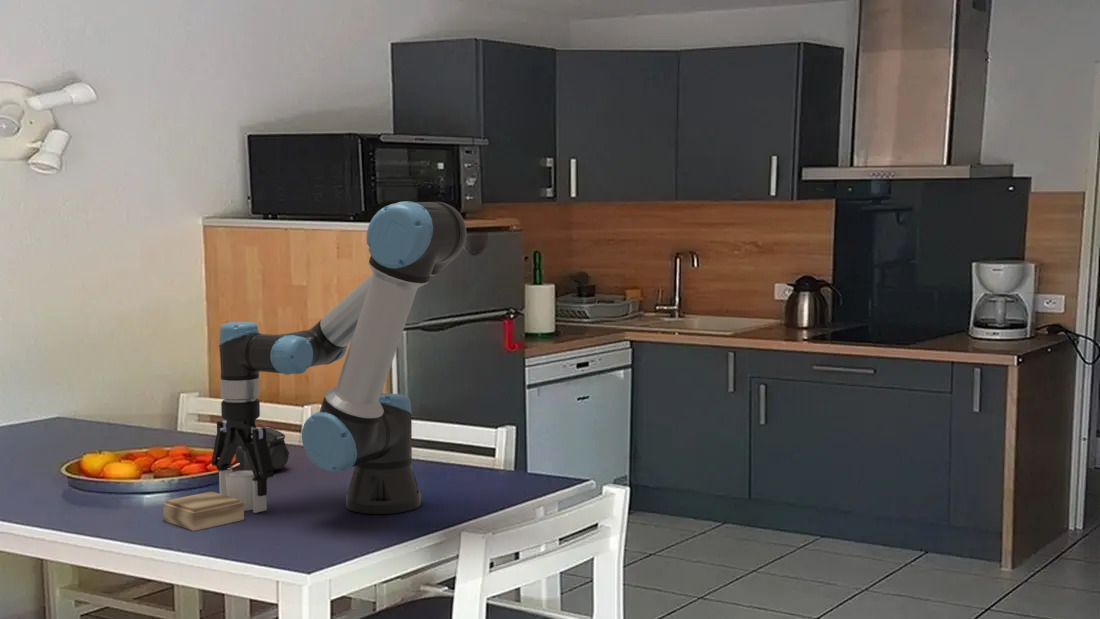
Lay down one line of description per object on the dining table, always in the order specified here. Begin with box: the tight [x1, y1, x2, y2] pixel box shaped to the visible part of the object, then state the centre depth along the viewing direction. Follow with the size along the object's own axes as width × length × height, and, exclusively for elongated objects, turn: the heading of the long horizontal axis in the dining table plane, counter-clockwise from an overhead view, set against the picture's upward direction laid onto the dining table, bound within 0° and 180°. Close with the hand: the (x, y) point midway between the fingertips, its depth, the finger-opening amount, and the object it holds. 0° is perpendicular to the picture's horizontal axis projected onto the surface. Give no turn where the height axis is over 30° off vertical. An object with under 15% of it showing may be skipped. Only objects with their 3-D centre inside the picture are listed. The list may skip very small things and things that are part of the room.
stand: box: [162, 491, 245, 532], centre depth 247 cm, size 11×11×4 cm
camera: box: [234, 426, 290, 472], centre depth 289 cm, size 13×10×10 cm
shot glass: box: [225, 470, 260, 512], centre depth 256 cm, size 7×7×7 cm
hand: (242, 506), depth 257 cm, fingers open, 11 cm apart
